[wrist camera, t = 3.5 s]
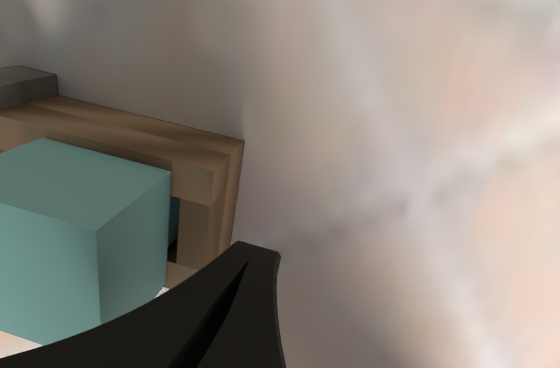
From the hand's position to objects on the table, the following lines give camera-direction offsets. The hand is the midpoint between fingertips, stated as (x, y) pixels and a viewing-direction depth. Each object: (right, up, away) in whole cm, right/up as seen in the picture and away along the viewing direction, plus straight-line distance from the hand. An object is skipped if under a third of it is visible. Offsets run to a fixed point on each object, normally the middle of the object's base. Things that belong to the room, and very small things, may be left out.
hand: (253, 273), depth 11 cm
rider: (-5, +2, +3) cm, 6 cm away
